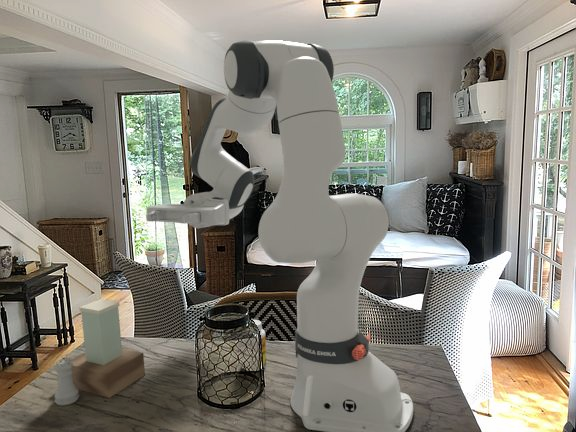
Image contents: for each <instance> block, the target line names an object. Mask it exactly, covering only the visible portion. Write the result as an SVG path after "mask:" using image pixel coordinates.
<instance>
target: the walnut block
mask: <svg viewBox="0 0 576 432" xmlns="http://www.w3.org/2000/svg"><path fill="white" fill-rule="evenodd" d="M144 356H145V355H144V352H140V351H135V350H132V349H127V348H123V347H122V355H121V356H120V357H118V358H116V359H114V360H113V361H111V362H109V363H107V364H105V365H101V364H97V363H93V362H88V361H86V355H85V352H83V353H81V354H79V355H77V356H75V357H73V358H71V359H70V361H71V363H72V364H73V366H72V368H71V371H73V373H72V379H73V383H74V385H76V387H77V388H78V390H79V391H84V392H87V393H90V394H94V395H98V396H100V397H104V398H109V399H110V398H111V397H113V396H115V395H117V394H118V393H119V392H121V391H123V390H125V388H127V387H129V386H130V385H132V384H133V383H135V382H136V381H138V380H139V379H141V378H142V377H144V376H146V371H145V369H146V367H145V357H144Z"/></svg>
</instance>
